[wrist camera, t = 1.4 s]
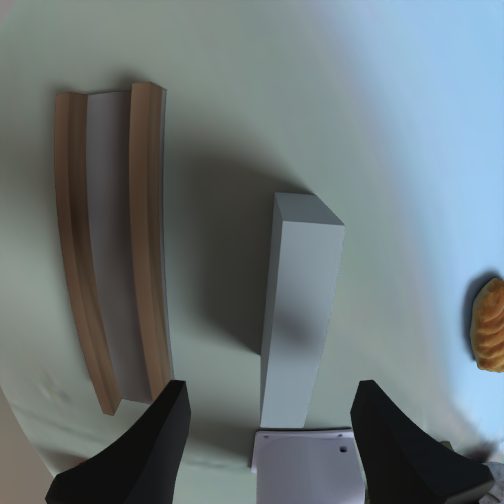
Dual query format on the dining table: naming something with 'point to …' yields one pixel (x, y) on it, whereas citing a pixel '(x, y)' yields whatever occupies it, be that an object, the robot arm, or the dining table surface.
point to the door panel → (297, 305)
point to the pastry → (489, 327)
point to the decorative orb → (500, 490)
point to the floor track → (115, 237)
